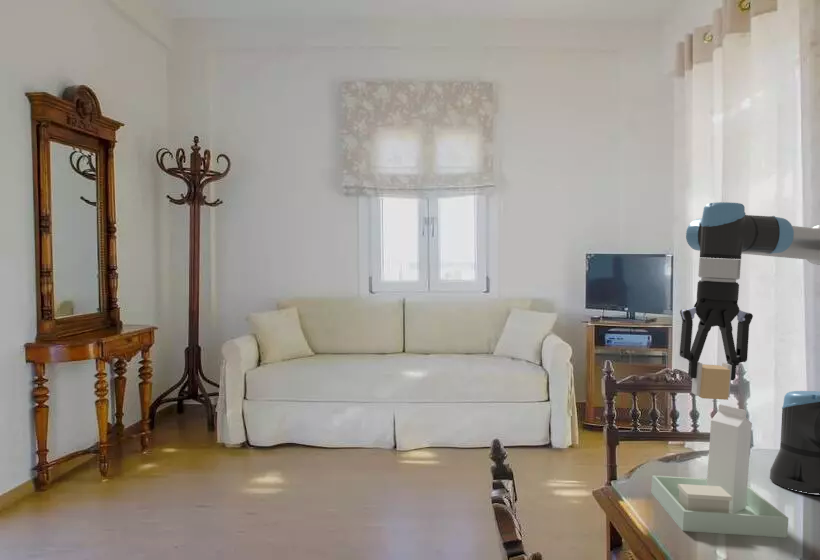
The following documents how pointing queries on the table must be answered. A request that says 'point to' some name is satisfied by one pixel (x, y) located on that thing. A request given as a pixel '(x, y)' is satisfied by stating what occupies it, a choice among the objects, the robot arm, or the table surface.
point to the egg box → (704, 498)
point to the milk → (730, 454)
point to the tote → (749, 521)
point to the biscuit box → (714, 382)
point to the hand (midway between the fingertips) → (710, 394)
